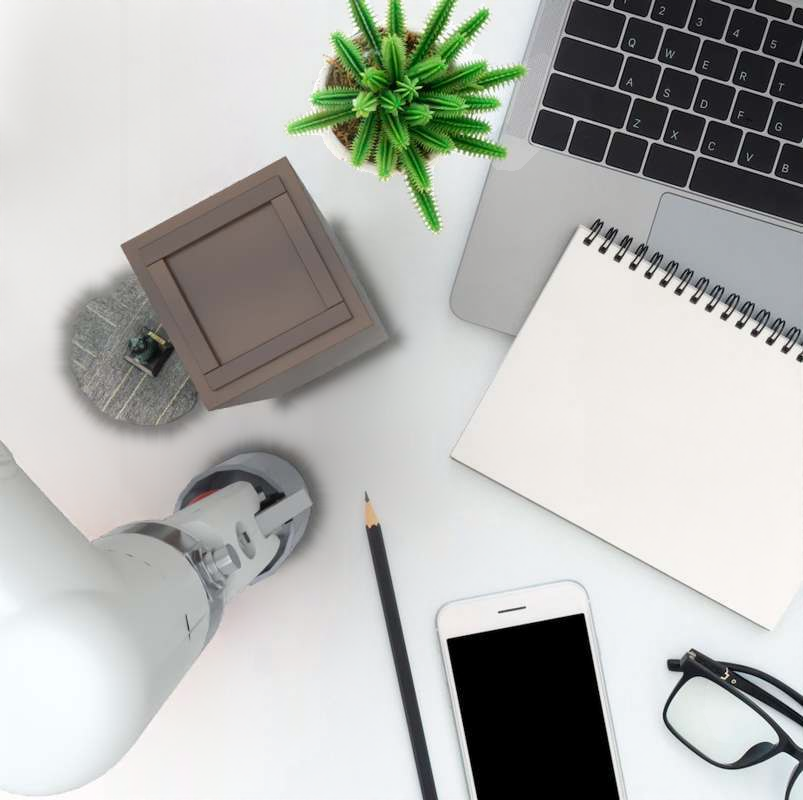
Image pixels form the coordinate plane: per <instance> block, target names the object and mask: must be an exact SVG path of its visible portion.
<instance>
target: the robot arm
mask: <svg viewBox="0 0 803 800" xmlns="http://www.w3.org/2000/svg"><path fill="white" fill-rule="evenodd" d="M309 495H310V493H309V494H308V492H307V491H306V489H305V487H302V488H300V489H298V490H295V491H293V492H290V493H289V494H287V495H285V493H284V492H280V493H279V492H278V491H277V492H275V493H273V494H270V495H268V496H266V494H265V493H264V491H263V489H262V487H261V486H258V487H256V488H253V486H252V485H251V483H249V482H245V481H238V482H236V483H233V484H231V485H229V486H227V487H225V488H223V489H221V490H219V491H217V492H215V493H213V494H211V495H209V496H207V497H205V498H203V499H201V500H199V501H197V502H195V503H194V504H192V505H190V506H188V507H186V508H184V509H182V510H180V511H178V512H176V513H174V512H173V513H174V514H173V513H172V514H170V515H169V516H167V517H165V518H163V519H161V520H159V519H158V520H157V519H143V520H135V521H132V522H128V523H124V524H122V525H119V526H117V527H115V528H113V529H112V530H109V531H108V532H107V533H105V534H103V535H101V536H99V537H98V538H95V539H94V540H92V541H90V540H89V539H88V538H87V537H86V536H85V535H84V534H83V533H82V531H80V530H79V528H78V527H77V526H75V524H74V523H72V522H71V520H70V519H69V518H68V517H67V516H66V515H65V514H64V513H63V512H62V511H61V510H60V509H59V508H58V506H56V505H55V503H54V502H53V501H52V500H51V499H50V498H49V497H48V496H47V495H46V494H45V493H44V491H43V490H42V489H41V488H40V487H39V486H38V485H37V483H35V481H33V479H32V478H31V477H30V476H29V475H28V474H27V473H26V472H25V471H24V470H23V468H22V467H21V466H20V465H19V464H18V463H17V460H16V459H15V457H14V455H13V453H12V451H11V450H10V449H9V447H8V446H7V445H6V443H4V442H3V441H2V440H1V439H0V791H2V792H6V793H8V794H11V795H18V796H23V797H50V796H56V795H62V794H65V793H68V792H72V791H75V790H79V789H81V788H83V787H85V786H86V785H89V784H90V783H93V782H95V781H96V780H98V779H99V778H100V777H102V776H104V775H105V774H107V773H108V772H109V771H111V770H112V769H113V768H114V767H115V766H116V765H117V764H118V763H120V761H121V760H122V759H123V758H124V757H125V756H126V755H127V753H128V752H129V751H130V750H131V749H132V748H133V747H134V745H135V744H136V743H137V742H138V740H139V739H140V737H141V736H142V734H143V733H144V732H145V730H146V729H147V727H148V726H149V725H150V724H151V723H152V721H153V720H154V718H155V717H156V715H157V714H158V713H159V711H160V710H161V708H162V707H163V706H164V705H165V703H166V702H167V700H168V699H169V698H170V696H171V695H172V694H173V692H174V691H175V689H176V688H177V687H178V685H179V684H180V683H181V681H182V680H183V679H184V677H185V676H186V675H187V674H188V672H189V671H190V669H191V668H192V667H193V665H194V664H195V662H196V661H197V660H198V659H199V657H200V655H201V654H202V653H203V652H204V650H205V649H206V647H207V646H208V645H209V644H210V642H211V641H212V639H214V636H215V634H216V633H217V631H218V630H219V628H220V625H221V623H222V621H223V618H224V614H225V609H226V605H227V604H228V603H229V602H230V601H231V600H233V598H235V597H236V596H237V595H239V594H240V593H241V592H243V590H244V589H245V588H246V587H248V586H247V585H248V584H249V583H250V582H251V581H252V580H253V579H254V578H255V577H256V576H257V575H258V574H259V573H260V572H261V571H262V570H263V569H264V568H265V567H266V566H267V565H268V564H269V563H270V562H271V560H272V559H273V558H274V556H275V555H276V553H277V551H278V548H279V545H280V538H278V536H277V535H275V534H276V533H278V532H279V531H280V530H282V529H283V528H282V527H281V525H282V524H283V523H284V524H287V523H289V522H291V521H292V520H293V519H292V518H293V517H294V516H296V515H298V514H299V513H301V512H302V511H304V510H306V509H307V508H309V507H310V506H311V507H312V506H313V505H314V502H313V501H312V498H311V496H309Z"/></svg>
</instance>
